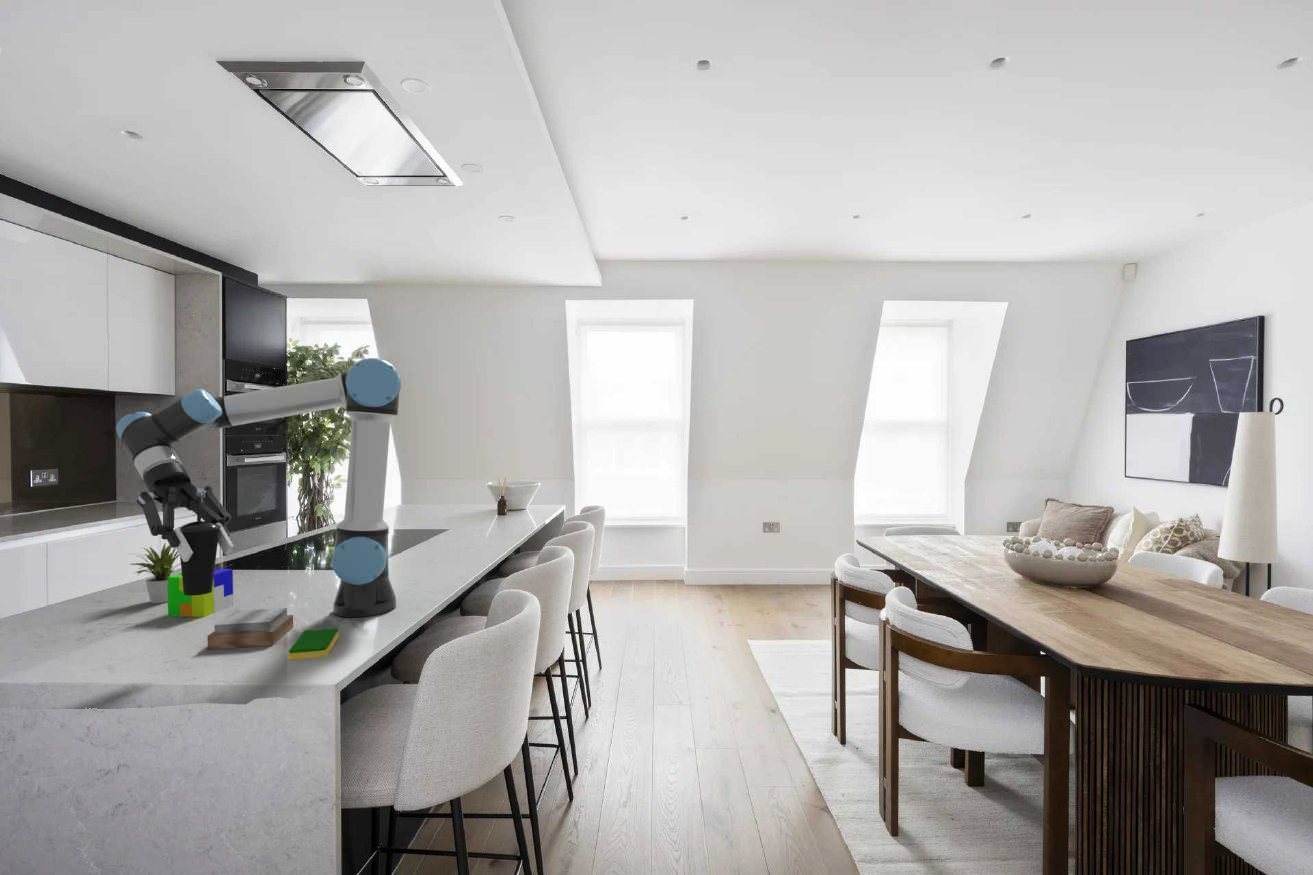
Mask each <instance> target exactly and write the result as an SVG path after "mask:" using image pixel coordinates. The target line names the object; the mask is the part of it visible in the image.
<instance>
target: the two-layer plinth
mask: <svg viewBox="0 0 1313 875" xmlns="http://www.w3.org/2000/svg"><path fill="white" fill-rule="evenodd" d="M293 628H294V614H288V608H287V607H281V608H280V607H278V608H265V609H262V608H261V609H247V610H246V609H244V610H243V609H242V610H235V611H234V612H232V613H230V614H229V615H227V616H226V617H224V618H222V619H221V620H220V621H218V622H217V623H215V624H214V631H212V632H211V633H209V634H208V635H207V650H217V649H219V650H220V649H235V648H252V647H253V648H254V647H264V646H265V647H266V646H274V645H275V644H277V643H278V641H279V640H281V639H282V638H283V637H284V636H286V634H288V633H289V631H291V630H292V629H293Z"/></svg>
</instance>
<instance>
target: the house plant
mask: <svg viewBox="0 0 1313 875" xmlns="http://www.w3.org/2000/svg"><path fill="white" fill-rule="evenodd" d="M138 548H140V549H141V547H138ZM142 549H143V550H145V551H146V552H147V553H148V554H147V553H146V554H144V553H143V554H142V555H141V554H140V553H137V556H138V557H140V558H142V559H143V560H145V562H147V563H145V562H134V563H130V565H131V566H141V567H138V571H136V572H134V575H135V574H136V576H138V575H139V574H142V573H143V572H146V574H149V575H151V576H152V577H151V578H147V579H146V580H145V583H146V586H147V592H148V596H149V600H150V603H151V604H164V602H165V603H168V590H167V577H170V576H171V573H173V572H175V568H176V567H178V566H181V562H180V563H178V564H176V565H175V566H174V565H173V564H174V563H175V561H176V560H177V559H178V557H180V554H179V552H178V551H177V549H176V547H175V548H172V547H171V546H170V544H168V545H167V546H166V542H164V544H163V546H162V549H161V552H160V555H159V554H158V552H156V550H155V549H154V548H152V547H151V546H149V549H150V550H149V549H147V548H145V547H142ZM171 549H173V550H172V552H171V553H170V551H171ZM126 554H129V555H135V553H134V552H129V553H126ZM144 557H145V558H144ZM148 560H149V561H150V562H151V563H150V562H149V561H148ZM142 568H147V569H142Z"/></svg>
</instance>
